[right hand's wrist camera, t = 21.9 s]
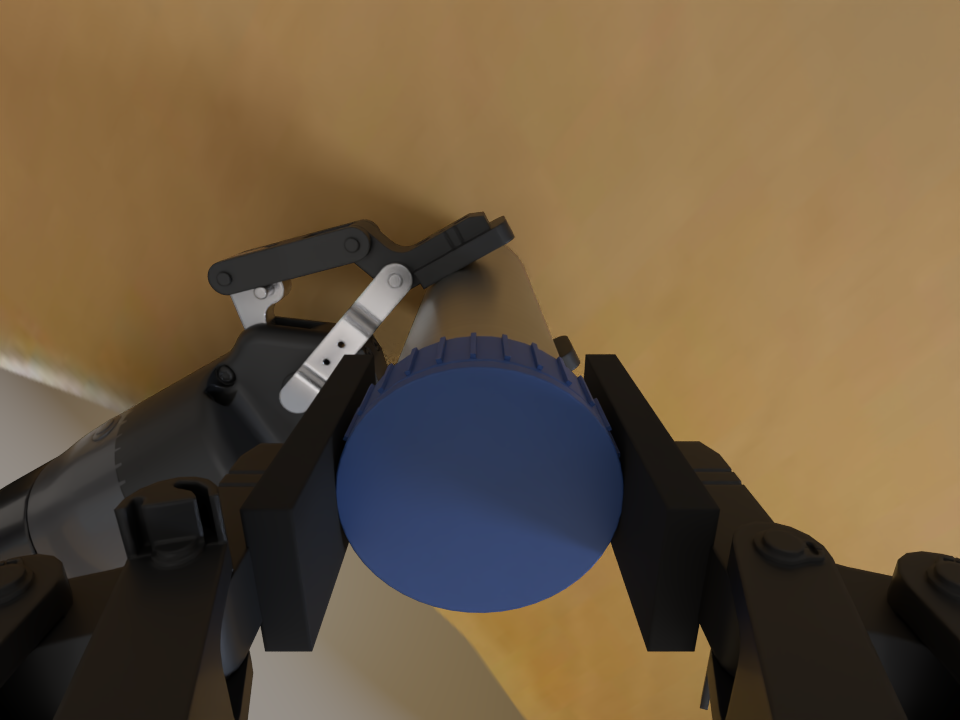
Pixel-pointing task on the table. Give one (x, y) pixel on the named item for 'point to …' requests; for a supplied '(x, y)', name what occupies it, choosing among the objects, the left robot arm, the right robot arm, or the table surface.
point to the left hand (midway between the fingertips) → (540, 291)
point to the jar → (482, 305)
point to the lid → (479, 476)
